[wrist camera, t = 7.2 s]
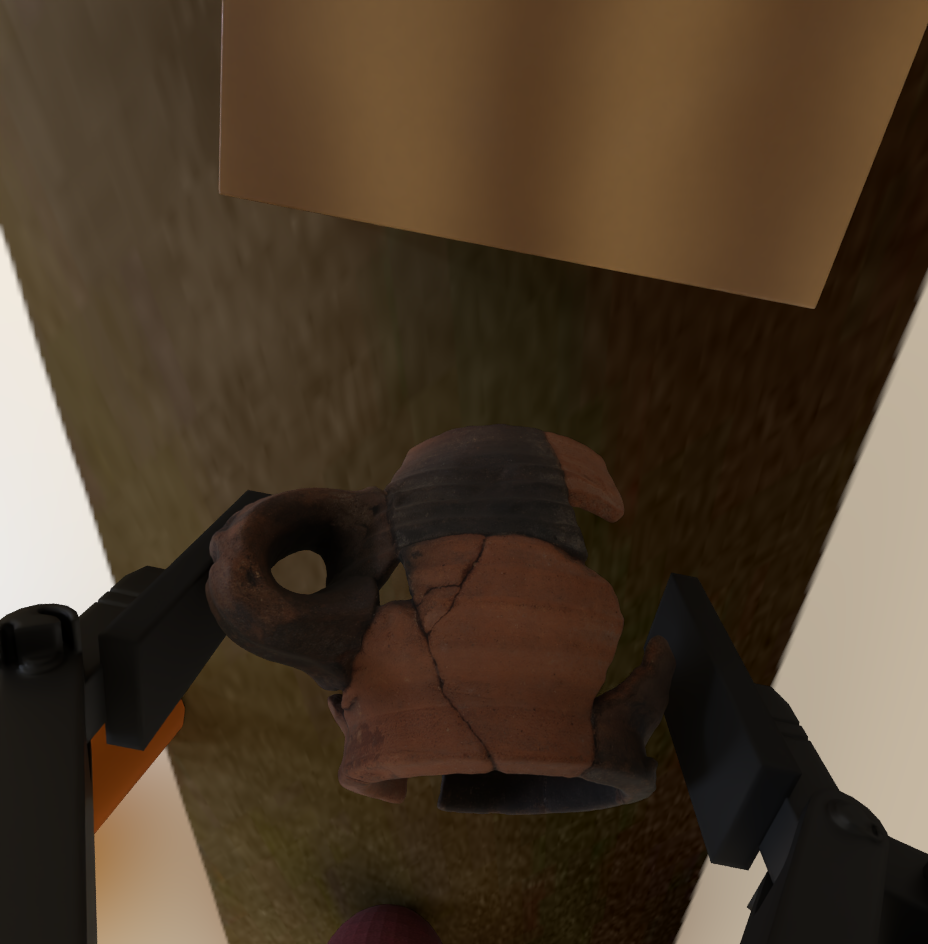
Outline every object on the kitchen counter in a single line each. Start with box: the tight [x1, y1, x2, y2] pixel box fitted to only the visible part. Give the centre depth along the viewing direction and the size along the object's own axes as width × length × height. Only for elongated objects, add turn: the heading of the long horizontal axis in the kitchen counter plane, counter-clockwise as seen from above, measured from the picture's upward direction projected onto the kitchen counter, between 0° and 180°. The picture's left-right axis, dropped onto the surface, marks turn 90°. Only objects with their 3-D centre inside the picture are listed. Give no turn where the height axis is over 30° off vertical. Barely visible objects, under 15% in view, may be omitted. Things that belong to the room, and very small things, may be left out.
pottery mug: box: [205, 424, 676, 815], centre depth 16 cm, size 12×10×8 cm
